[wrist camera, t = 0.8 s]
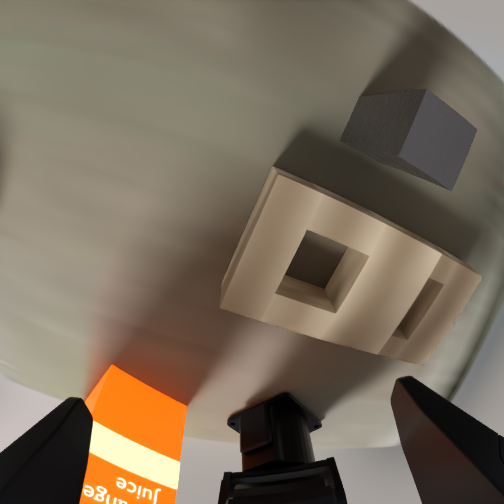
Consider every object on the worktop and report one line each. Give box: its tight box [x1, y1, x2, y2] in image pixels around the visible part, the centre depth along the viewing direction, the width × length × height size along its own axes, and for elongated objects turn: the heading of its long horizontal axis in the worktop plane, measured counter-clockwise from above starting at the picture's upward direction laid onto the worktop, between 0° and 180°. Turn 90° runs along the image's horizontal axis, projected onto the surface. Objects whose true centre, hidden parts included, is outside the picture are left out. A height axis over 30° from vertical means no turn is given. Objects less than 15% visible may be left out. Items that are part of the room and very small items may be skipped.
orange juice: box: [80, 365, 187, 504], centre depth 17 cm, size 8×9×20 cm
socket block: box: [219, 166, 483, 365], centre depth 19 cm, size 16×8×3 cm, turn 67°
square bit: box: [340, 89, 477, 191], centre depth 14 cm, size 3×3×8 cm
